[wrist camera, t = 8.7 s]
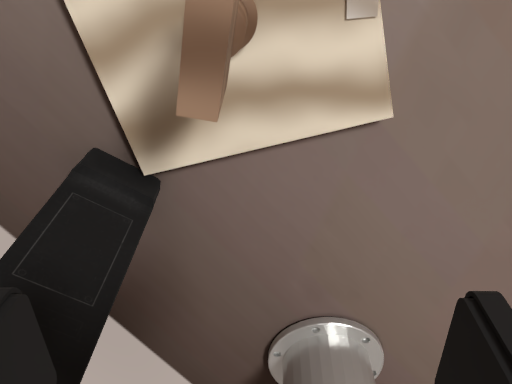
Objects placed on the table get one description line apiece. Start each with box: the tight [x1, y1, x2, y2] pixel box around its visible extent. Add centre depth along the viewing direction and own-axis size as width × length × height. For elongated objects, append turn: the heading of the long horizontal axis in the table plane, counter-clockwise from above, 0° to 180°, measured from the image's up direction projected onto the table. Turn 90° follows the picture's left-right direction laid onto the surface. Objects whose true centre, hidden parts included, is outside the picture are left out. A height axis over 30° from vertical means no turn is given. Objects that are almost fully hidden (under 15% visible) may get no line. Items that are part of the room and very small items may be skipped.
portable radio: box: [0, 148, 160, 384], centre depth 27 cm, size 8×6×25 cm
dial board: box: [64, 0, 393, 176], centre depth 29 cm, size 20×20×2 cm
